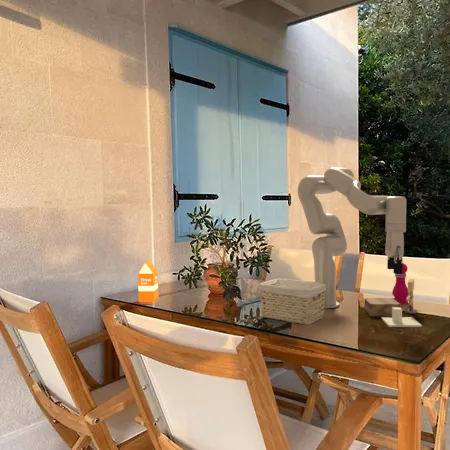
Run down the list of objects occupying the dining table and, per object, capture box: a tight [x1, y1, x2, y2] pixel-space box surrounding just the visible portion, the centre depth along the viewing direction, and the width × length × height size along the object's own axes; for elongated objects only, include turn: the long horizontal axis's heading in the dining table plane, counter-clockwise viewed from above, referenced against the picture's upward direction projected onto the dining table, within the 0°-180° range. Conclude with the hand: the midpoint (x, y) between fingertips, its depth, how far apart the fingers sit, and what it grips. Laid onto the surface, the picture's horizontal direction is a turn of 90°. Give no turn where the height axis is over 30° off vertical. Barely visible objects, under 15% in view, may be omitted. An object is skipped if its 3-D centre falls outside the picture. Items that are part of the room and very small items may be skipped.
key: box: [407, 278, 415, 310], centre depth 194 cm, size 12×2×12 cm, turn 153°
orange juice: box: [137, 260, 159, 303], centre depth 229 cm, size 8×9×20 cm
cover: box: [380, 306, 423, 328], centre depth 180 cm, size 12×12×6 cm
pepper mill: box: [391, 262, 409, 305], centre depth 214 cm, size 7×7×20 cm
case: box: [363, 297, 401, 317], centre depth 196 cm, size 12×12×5 cm
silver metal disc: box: [405, 308, 418, 315], centre depth 195 cm, size 4×4×1 cm
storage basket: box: [258, 277, 326, 326], centre depth 191 cm, size 24×16×15 cm
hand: (394, 271), depth 182 cm, fingers open, 9 cm apart
